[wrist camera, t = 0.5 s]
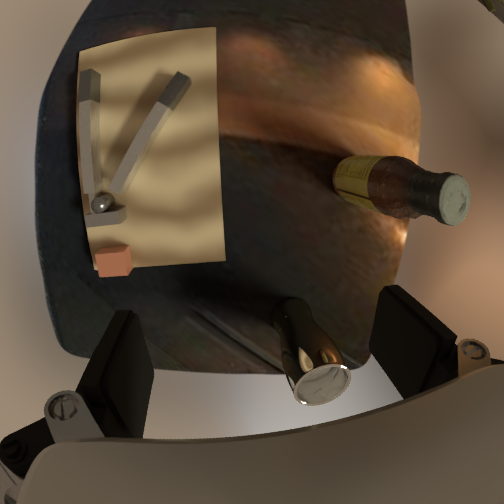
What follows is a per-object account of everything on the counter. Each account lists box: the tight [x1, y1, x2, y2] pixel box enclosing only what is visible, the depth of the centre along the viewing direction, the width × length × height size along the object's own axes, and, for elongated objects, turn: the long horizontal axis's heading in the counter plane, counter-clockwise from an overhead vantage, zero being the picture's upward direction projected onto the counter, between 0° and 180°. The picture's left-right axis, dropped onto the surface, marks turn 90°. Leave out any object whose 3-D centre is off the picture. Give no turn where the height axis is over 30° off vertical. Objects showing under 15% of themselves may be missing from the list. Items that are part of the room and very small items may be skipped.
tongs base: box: [78, 68, 127, 228], centre depth 27 cm, size 19×5×4 cm, turn 2°
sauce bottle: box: [332, 156, 470, 226], centre depth 26 cm, size 6×6×20 cm
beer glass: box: [271, 298, 351, 406], centre depth 34 cm, size 7×7×15 cm
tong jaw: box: [108, 71, 192, 195], centre depth 28 cm, size 15×2×3 cm, turn 147°
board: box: [76, 27, 226, 270], centre depth 30 cm, size 30×18×1 cm, turn 2°
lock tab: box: [95, 246, 133, 277], centre depth 33 cm, size 3×4×2 cm
